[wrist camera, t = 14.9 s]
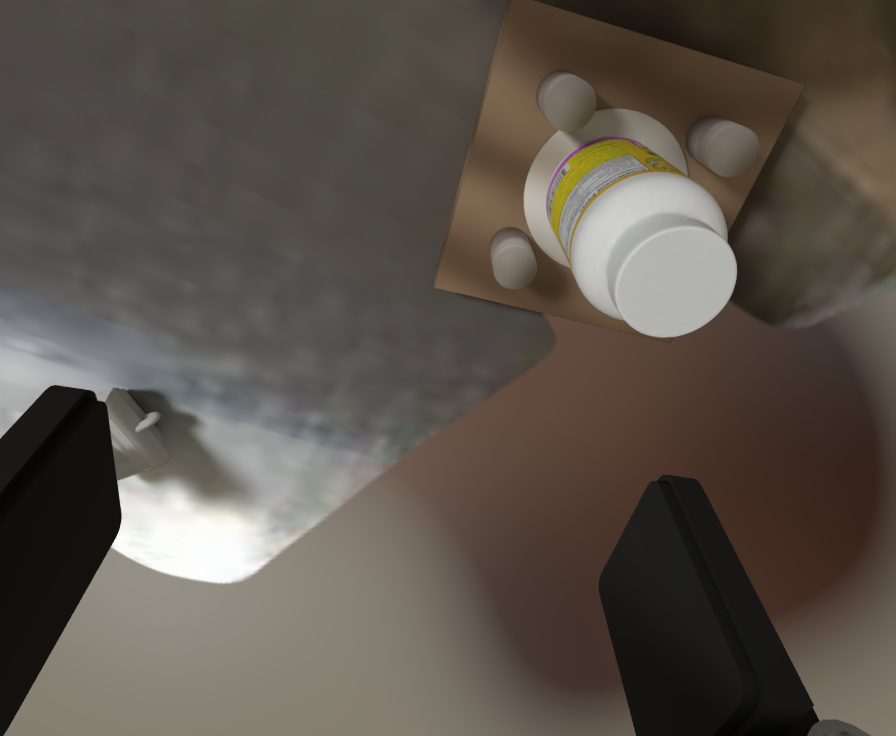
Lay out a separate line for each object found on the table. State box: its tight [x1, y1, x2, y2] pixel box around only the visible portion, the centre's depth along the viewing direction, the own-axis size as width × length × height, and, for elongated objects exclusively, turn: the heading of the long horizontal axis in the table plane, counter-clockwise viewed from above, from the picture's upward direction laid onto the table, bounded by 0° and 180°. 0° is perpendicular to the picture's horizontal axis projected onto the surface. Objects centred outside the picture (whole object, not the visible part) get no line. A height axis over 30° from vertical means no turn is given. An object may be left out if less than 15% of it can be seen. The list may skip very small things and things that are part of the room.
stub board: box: [435, 0, 805, 343], centre depth 34 cm, size 16×16×6 cm
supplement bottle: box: [546, 136, 737, 338], centre depth 29 cm, size 7×7×13 cm
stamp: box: [96, 388, 171, 481], centre depth 42 cm, size 9×7×8 cm
